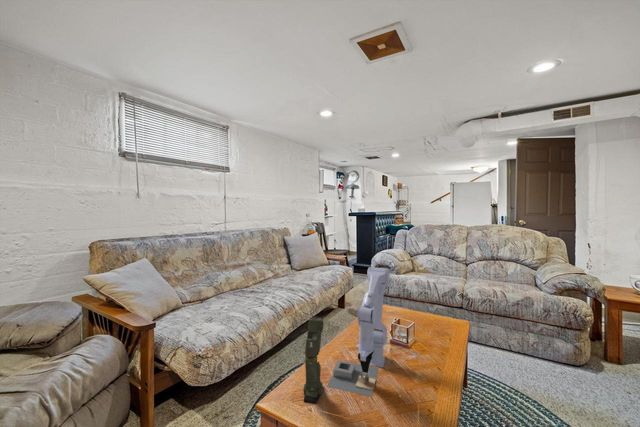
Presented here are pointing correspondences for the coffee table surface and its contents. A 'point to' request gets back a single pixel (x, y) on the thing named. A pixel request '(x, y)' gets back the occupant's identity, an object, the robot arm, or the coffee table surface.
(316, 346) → the mechanical leg
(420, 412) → the coffee table surface
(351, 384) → the mat
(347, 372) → the block
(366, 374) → the gold capped metal cylinder
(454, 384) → the coffee table surface
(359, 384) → the cork pad
